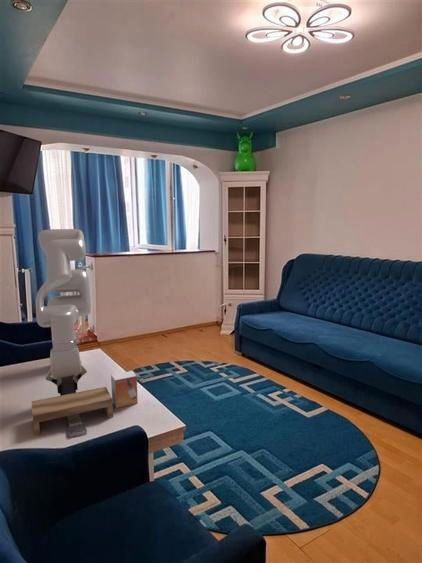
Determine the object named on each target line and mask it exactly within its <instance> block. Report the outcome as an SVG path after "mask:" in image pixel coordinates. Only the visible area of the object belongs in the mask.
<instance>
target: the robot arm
mask: <svg viewBox="0 0 422 563" xmlns="http://www.w3.org/2000/svg"><path fill="white" fill-rule="evenodd" d="M37 236H38V237H37V239H38V242H39V245H40V248H41V250H42V252H43V254H44V256H45V260H46V262H45V263H46V275H47V277H46V280H45V282H44V283H43V284H42V285H41V286H40V288H39V290H38V291H37V294H36V297H35V315H36V316H35V317H36V322H37V325H38V326H40V327H41V328H50V330H51V340H52V348H51V349H50V355H49V368H50V369H49V370H48V372H47V374H46V376H45V377H44V378H45V381H48V382H51V383H53V384H54V385H56V387H57V388H56V389H57V394H59V396H62V385H61V377H67V376H72V375H73V382H74V393H77V391H78V390H79V389H78V382H79V380H80V379H81V378H83V376H84V375H86V373H87V369H86V368H85V367H84V366H83V365H82V360H81V356H80V351H79V346H78V344H80V342H81V341H80V339H77V337H76V326H75V324H76V323H77V321H78V320H79V317H85V316H88V315H89V314H91V312H92V301H91V299H92V298H91V288H90V279H89V275H88V273H87V271H86V270H84V269H71V262H72V261H73V262H74V261H84V259H85V258H86V255H87V247H86V246H87V245H86V242H85V236H84V232H83V231H82V230H81V229H78V228H64V229H63V228H59V229H58V228H54V229H53V228H52V229H51V228H50V229H44V230H41V231H40V232H39V233H38V235H37ZM50 292H53V293H57V294H58V293H61V294H62V293H75V292H77V293H78V294H68V295H67V294H66V295H57V296H53V297H51V298H50V299H48V301H47V305H46V306H45V298H46V297H47V296H48V295H49V294H50Z"/></svg>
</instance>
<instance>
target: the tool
mask: <svg viewBox="0 0 422 563" xmlns="http://www.w3.org/2000/svg"><path fill="white" fill-rule="evenodd" d="M73 379H74V378H73V375H72V376H67V377H61V385H62V395H67V394H72V393H74V382H73ZM66 418H67V422H68V425H69V426H71V425H75V424H80V423H83V422H82V419H81V416H80V413H78V414H73V415H69V416H66Z"/></svg>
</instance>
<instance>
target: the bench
mask: <svg viewBox="0 0 422 563" xmlns="http://www.w3.org/2000/svg"><path fill="white" fill-rule="evenodd" d="M113 405H114V404H113V402H112V395H111V394H110V391H109V390H108V387H107V386H104V387H103V386H102V387H98V388H93V389H88V390H82V391H76V393H72V394H67V395H62V396H60V395H57V396H52V397H46V398H43V399H42V398H41V399H38V400H32V401H31V410H32V420H33V421H32V422H33V432H34V436H38V435H41V431H40V430H41V429H40V422H45V421H49V420H50V421H51V420H54V419H59V418H63V417H67V416H69V415H73V414H78V413H79V414H81V413H87V412H90V411H97V410H100V409H104V411H105V413H106V415H107V417H108V418H109V419H110V418H114V410H113V409H114V408H113V407H114V406H113Z"/></svg>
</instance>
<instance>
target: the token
mask: <svg viewBox="0 0 422 563" xmlns="http://www.w3.org/2000/svg"><path fill="white" fill-rule="evenodd" d="M67 431H68V435H69V439H70V438H72V439H73V438H75V437H79V436H80V437H81V436H83V435H88V430H87V426H86V424H85V422H82V423H80V424H75V425H71V426H68V425H67Z"/></svg>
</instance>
